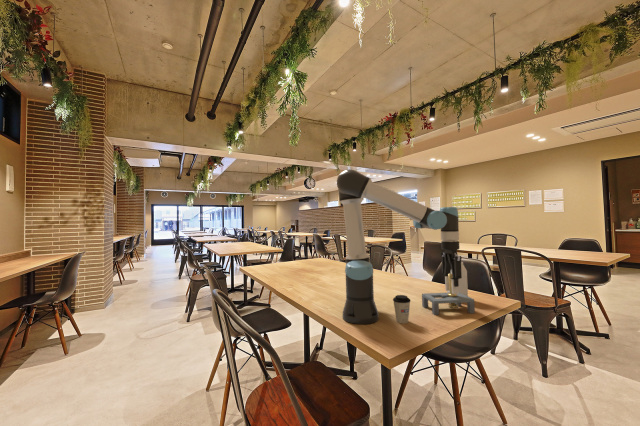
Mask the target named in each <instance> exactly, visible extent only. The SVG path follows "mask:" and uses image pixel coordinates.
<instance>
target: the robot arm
mask: <svg viewBox="0 0 640 426" xmlns="http://www.w3.org/2000/svg"><path fill="white" fill-rule="evenodd" d="M336 187H337V190H338V198H339V199H338V200H339V203H340V204H342V207H343V217H344V227H345V237H346V246H347V255H346V257H345V270H344V273H345V294H346V295H345V297H346V299H345V303H344V306H343V309H342V319H343V320H344V322H347V323H351V324H354V325H355V324H356V325H370V324H373V323H376V322H377V321H378V320H379V317H380V316H379V311H378V308H377V305H376V302H375V297H374V295H375V293H374V268H373V264H372V263H371V258H370V255H369V254H368V253H367V250H366V240H365V239H366V238H365V230H364V229H365V228H364V220H363V219H364V218H363V211H362V202H363V201H364V199H366V200H368V201H370V202H373V203H375V204H376V205H377V204H378V205H379V206H381V207H383V208H386V209H387V210H391V211H392V212H394V213H396V214H400V215H402V216H403V217H406V218H407V219H410V220H412V224H413V226H414V228H415V229H431V230H440V240H441V242H440V244H441V245H440V247H441V248H440V249H441V250H443V252H440V257H441V274H443V275H444V283H445V288H444V289H445V291H446V292H447V291H450V289H449V277H448V274H450V273H451V271H452V277H453V278H451V281H452V294H459V284H458V279H460V278H462V273H461V262H462V255H459V254H458V250H460V241H459V239H460V232H459V225H460V224H459V217H460V216H459V209H458V208H457V207H456V206H447V207H446V206H444V207H440V209H439V210H435V209H432V208H430V207H429V206H426V205H425V204H422V203H420V202H417V201H415V200H413V199H410V198H409V197H406V196H404V195H403V194H400V193H398V192H396V191H393V190H391V189H388V188H386V187H385V186H382V185H380V184H378V183H376V182H373V181H372V178H370V177H368V176H367V175H364V174H363V173H361V172H359V171H357V170H355V169H345V170H343V171H341V172H340V173H339V174H338V176H337V179H336Z"/></svg>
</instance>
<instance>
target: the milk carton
mask: <svg viewBox="0 0 640 426" xmlns="http://www.w3.org/2000/svg"><path fill="white" fill-rule="evenodd" d="M461 273H462V278H460V279H458V284H459V293H462V294H464V295H466V296H468V297H469V292H468V291H469V290H468V288H469V287H468V270H467V268H466V267H465V264H464V261H461ZM450 274H452V271H451V273H450ZM448 292H450V291H446V293H448Z"/></svg>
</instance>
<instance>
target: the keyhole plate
mask: <svg viewBox="0 0 640 426" xmlns="http://www.w3.org/2000/svg"><path fill="white" fill-rule="evenodd" d="M448 293H450V292H448ZM448 293H447V292H433V293H432V292H431V293H430V292H429V293H428V292H427V293H421V306H422V308H424V309H426V308H429V302H430V303H431V313H432V315H433V316H440V309H439V308H440V305H441V304H442V305H443V304H449V303H456V304H458V307H462V303H466V307H467V312H468V313H469V314H475V313H476V312H475V311H476V310H475V309H476V308H475V299H474V298H472V297H470V296H469V295H468V296H466V295H464V294H462V293H459V294H457V297H449V296H448ZM439 304H440V305H439Z"/></svg>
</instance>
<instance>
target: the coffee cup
mask: <svg viewBox="0 0 640 426" xmlns="http://www.w3.org/2000/svg"><path fill="white" fill-rule="evenodd" d="M392 301H393V305H394V306H393V307H394V313H395V314H394V315H395V319H396V322H397V323H399V324H408V323H409V318H410V306H411V305H410V304H411V302H412V301H411V298H409V297H408V296H407V295H405V294H404V295H403V294H397V295H395V297H393V299H392Z"/></svg>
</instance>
